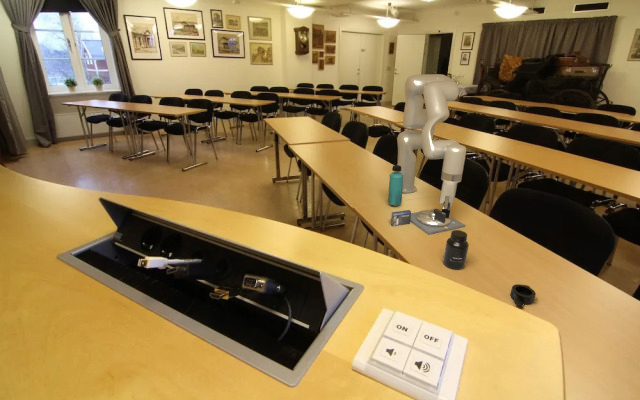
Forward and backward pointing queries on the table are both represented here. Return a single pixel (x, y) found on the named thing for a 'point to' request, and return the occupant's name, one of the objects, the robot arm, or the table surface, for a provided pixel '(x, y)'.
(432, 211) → the dial
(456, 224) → the dial plate
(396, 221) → the mini dv tape
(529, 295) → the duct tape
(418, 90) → the robot arm
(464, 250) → the supplement bottle
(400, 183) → the beverage bottle
